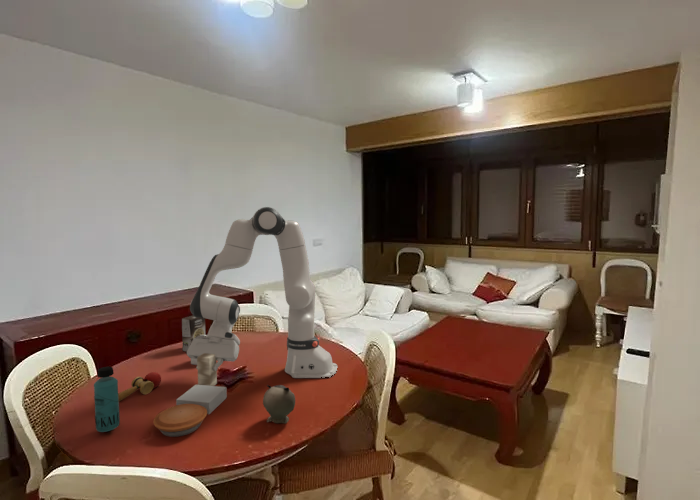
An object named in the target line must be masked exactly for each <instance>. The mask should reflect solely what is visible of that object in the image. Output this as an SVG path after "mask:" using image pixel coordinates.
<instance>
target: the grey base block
mask: <svg viewBox="0 0 700 500" xmlns="http://www.w3.org/2000/svg"><path fill="white" fill-rule="evenodd" d="M227 397H228V394H227V386H217V385H215V386H207V385H198V384H194V385H192V387H191V388H189V389H188V390H187V391H186V392H184V393H183V394H181V395H180V396H179V397H178V398H176V399H175V401H176V402H175V404H176V405H180V404H197V405H201V406H203V407H205V408H206V409H207V415H210V414H212V412H213V411H215V410H216V409H217V407H219V406H220V405H221V404H222V403H223V402H224V401H225V400H227ZM176 405H175V406H176Z"/></svg>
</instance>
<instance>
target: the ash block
mask: <svg viewBox="0 0 700 500" xmlns="http://www.w3.org/2000/svg"><path fill="white" fill-rule="evenodd" d="M215 355H216V354H207V353H203V354H202V355H200V356H199V357H197V365H196V367H197V366H198V370H197V385H207V386H217V384H218V379H217V378H218V377H217V376H218V374H217V372H218V370H217V371H213V370H212V366H213V365H215V364H216V363H217V360H216V358H215Z"/></svg>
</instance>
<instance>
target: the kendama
mask: <svg viewBox="0 0 700 500" xmlns="http://www.w3.org/2000/svg"><path fill="white" fill-rule="evenodd" d="M161 383H162V376H161V374H160V373H158V372H156V371H151V372H149V373H147V374H145V376H144V377H142V376H136V377H135V378H134V379H132V381H131V384H130V385H131V387H130V388H127V389H125V390H123V391H120V392H118V400H119V402H121V401H122V400H124V399H126V398H127V397H129V396H130V395H132V394H133V393H135V392H137V391H138V390H139V391H140V393H141V394H142V395H148V394H150V393H151V392H152V391H153V389H155V388H157V387H158V386H159V385H160V384H161Z"/></svg>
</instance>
